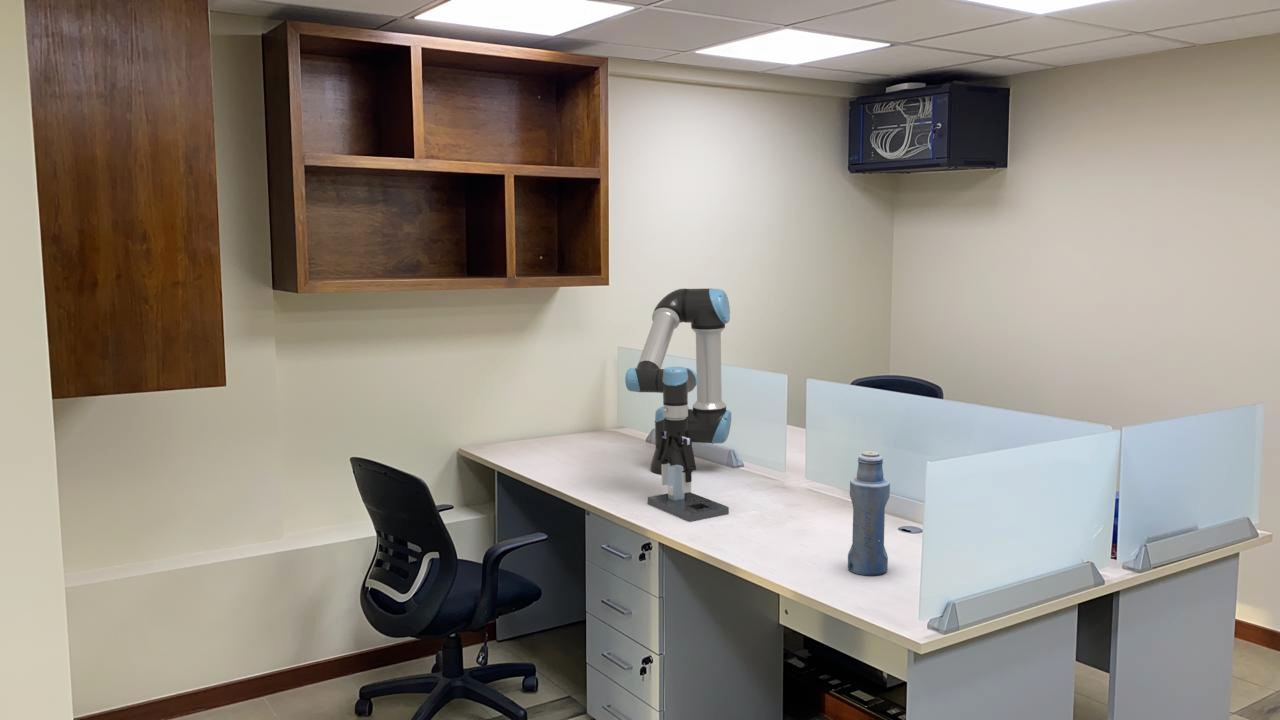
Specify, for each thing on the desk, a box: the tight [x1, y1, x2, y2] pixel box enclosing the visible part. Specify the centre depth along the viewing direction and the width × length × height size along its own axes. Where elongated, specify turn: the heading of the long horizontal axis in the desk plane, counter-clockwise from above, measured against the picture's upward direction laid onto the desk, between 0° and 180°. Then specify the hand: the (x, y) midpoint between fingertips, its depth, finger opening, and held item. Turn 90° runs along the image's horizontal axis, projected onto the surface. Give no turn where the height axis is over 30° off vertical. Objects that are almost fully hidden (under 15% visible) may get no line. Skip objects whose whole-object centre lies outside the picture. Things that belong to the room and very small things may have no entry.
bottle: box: [847, 450, 891, 576], centre depth 247 cm, size 10×10×30 cm
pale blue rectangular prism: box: [667, 465, 684, 501], centre depth 306 cm, size 4×4×12 cm
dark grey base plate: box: [647, 491, 730, 523], centre depth 302 cm, size 14×23×3 cm, turn 32°
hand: (676, 488), depth 307 cm, fingers open, 11 cm apart
